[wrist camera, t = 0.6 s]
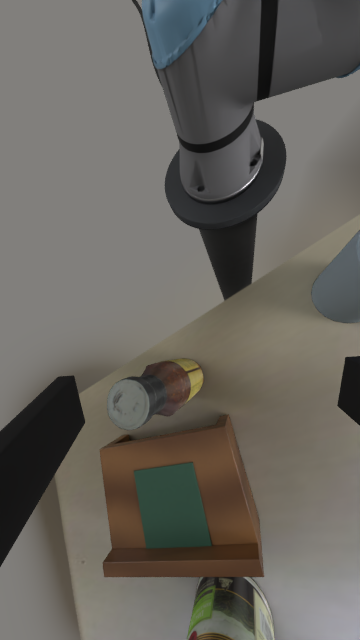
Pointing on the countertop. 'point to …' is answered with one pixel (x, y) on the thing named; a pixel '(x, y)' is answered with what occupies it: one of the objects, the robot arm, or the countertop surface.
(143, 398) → the sauce bottle
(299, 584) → the countertop surface
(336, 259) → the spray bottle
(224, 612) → the large food can
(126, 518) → the brown wooden box
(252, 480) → the countertop surface
